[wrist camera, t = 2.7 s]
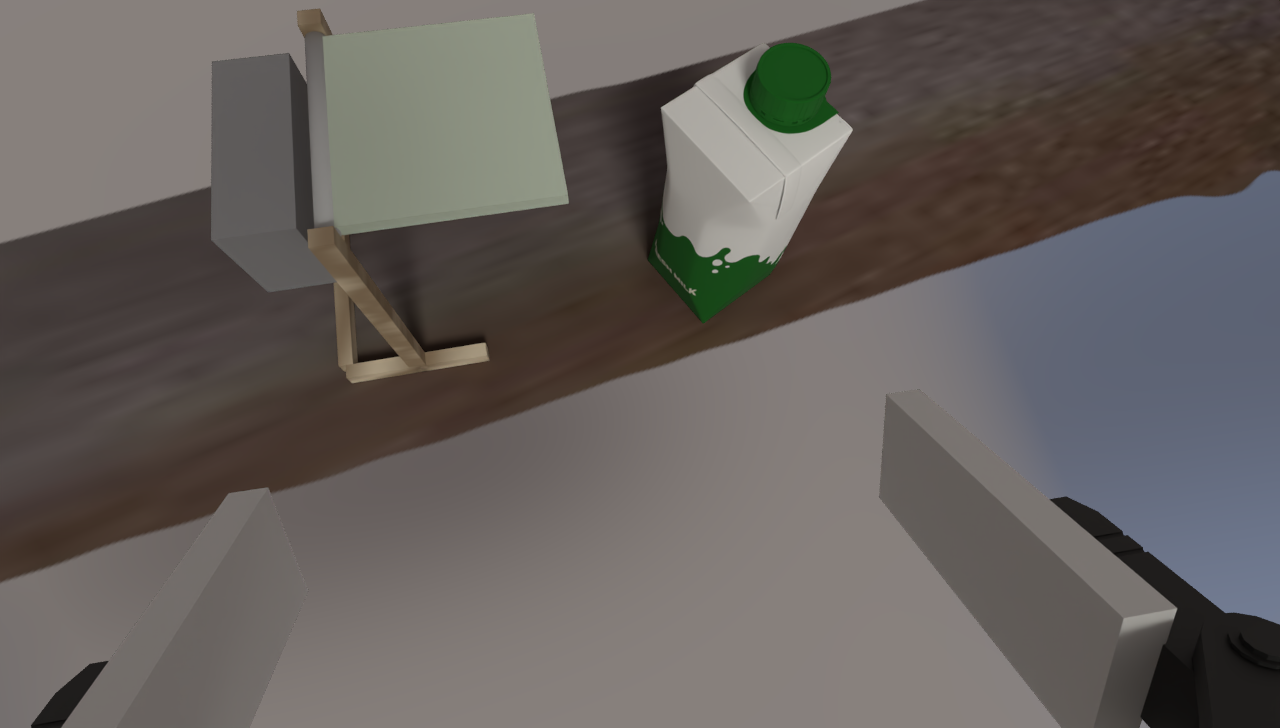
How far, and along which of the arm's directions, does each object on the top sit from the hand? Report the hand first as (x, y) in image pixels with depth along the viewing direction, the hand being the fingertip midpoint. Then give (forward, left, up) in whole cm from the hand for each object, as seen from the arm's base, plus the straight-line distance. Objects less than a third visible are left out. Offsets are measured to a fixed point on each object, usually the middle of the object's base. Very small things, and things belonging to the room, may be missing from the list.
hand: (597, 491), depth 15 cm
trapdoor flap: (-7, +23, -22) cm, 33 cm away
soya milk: (+12, +21, -34) cm, 42 cm away
